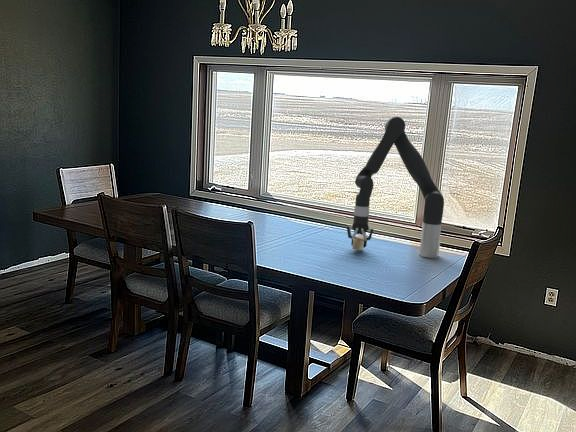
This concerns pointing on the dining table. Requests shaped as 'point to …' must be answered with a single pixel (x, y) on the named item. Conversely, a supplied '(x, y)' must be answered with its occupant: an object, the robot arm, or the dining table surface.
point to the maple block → (358, 242)
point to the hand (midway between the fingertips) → (358, 246)
